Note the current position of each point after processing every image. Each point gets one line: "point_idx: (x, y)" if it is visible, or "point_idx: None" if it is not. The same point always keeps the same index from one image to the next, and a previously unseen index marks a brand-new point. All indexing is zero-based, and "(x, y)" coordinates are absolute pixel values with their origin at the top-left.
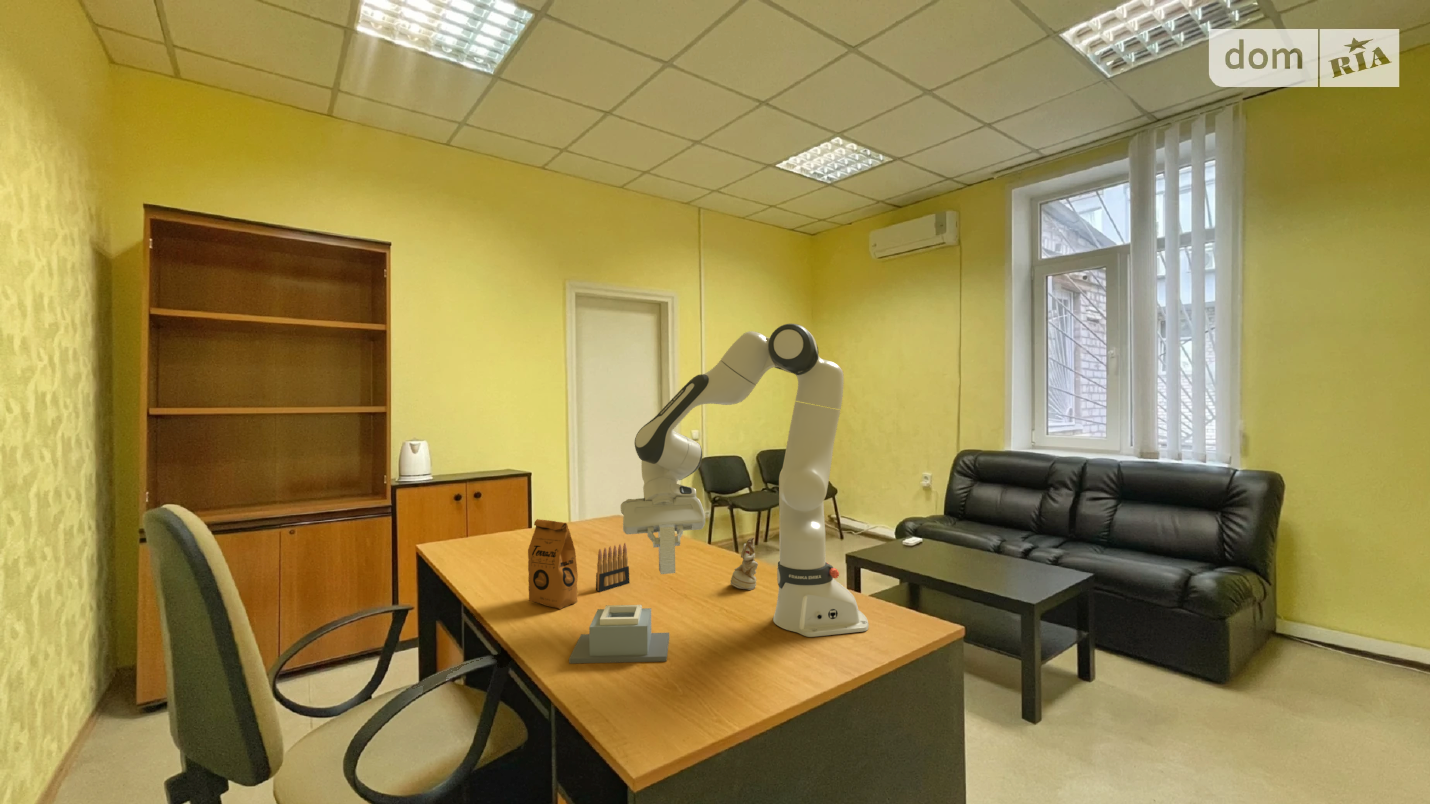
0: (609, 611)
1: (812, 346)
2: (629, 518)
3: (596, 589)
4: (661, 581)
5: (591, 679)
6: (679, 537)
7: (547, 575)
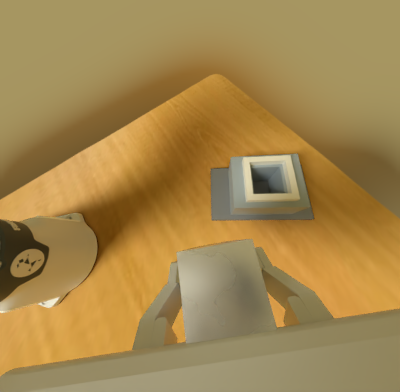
0: (289, 192)
1: None
2: None
3: None
4: None
5: (267, 143)
6: (169, 277)
7: None
